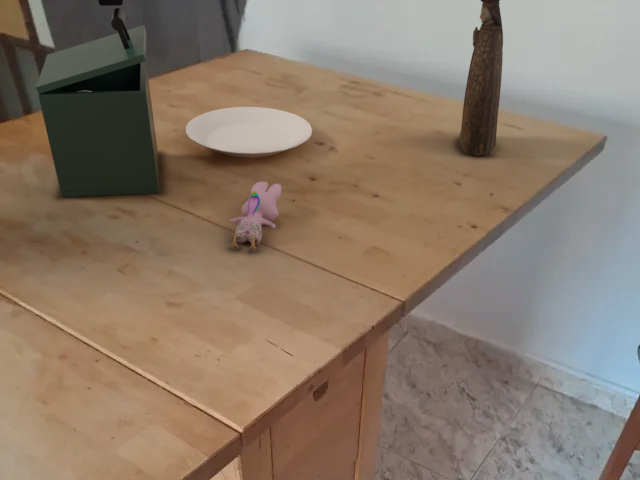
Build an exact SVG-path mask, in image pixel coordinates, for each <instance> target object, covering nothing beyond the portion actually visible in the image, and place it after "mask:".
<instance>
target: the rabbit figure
mask: <svg viewBox="0 0 640 480" xmlns="http://www.w3.org/2000/svg"><path fill="white" fill-rule="evenodd" d="M268 186H269V182H267V181H258V182H255V184H254V185H252V187H251V189H250V195H249V197H248V199H247V200H246V202H245V203H243V205H242V206H241V208H240V209H241V213H242V215H243V216H238V217H234V218H231V219H229V223H230V224H235V223H238V224H237V225H236V228H235V231H234V236H233V238H232V239H233V240H232V243H231V247H234V248H233V250H236V247H237V248H239V246H238V244H237V243H239V244H244V243H246V242H249V243H250V244H251V245H250V246H249V248H248V249H249V250H250V249H252V252H253V253H255V250H257V245H259V244H260V243H261V241H262V240H263V226H264V225H266V226H269V227H271V229H276V228H277V226H276V224H275V223H274V222H273V221H274V220H275V219H277V217H278V216H279V211H278V210H279V209H278V207H277V202H278V200H279V199H280V197H281V195H282V187H283V186H282V185H281V184H280V183H274V184H272V185H271V186H270V187H269V189H268Z"/></svg>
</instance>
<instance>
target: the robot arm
mask: <svg viewBox="0 0 640 480" xmlns="http://www.w3.org/2000/svg"><path fill="white" fill-rule="evenodd" d="M97 2H98V4H99V5H100V6H102V7H105V6H111V7H113V6H114V7H115V6H116V7H117V6H118V7H119V6H123V4H124V0H97Z"/></svg>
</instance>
